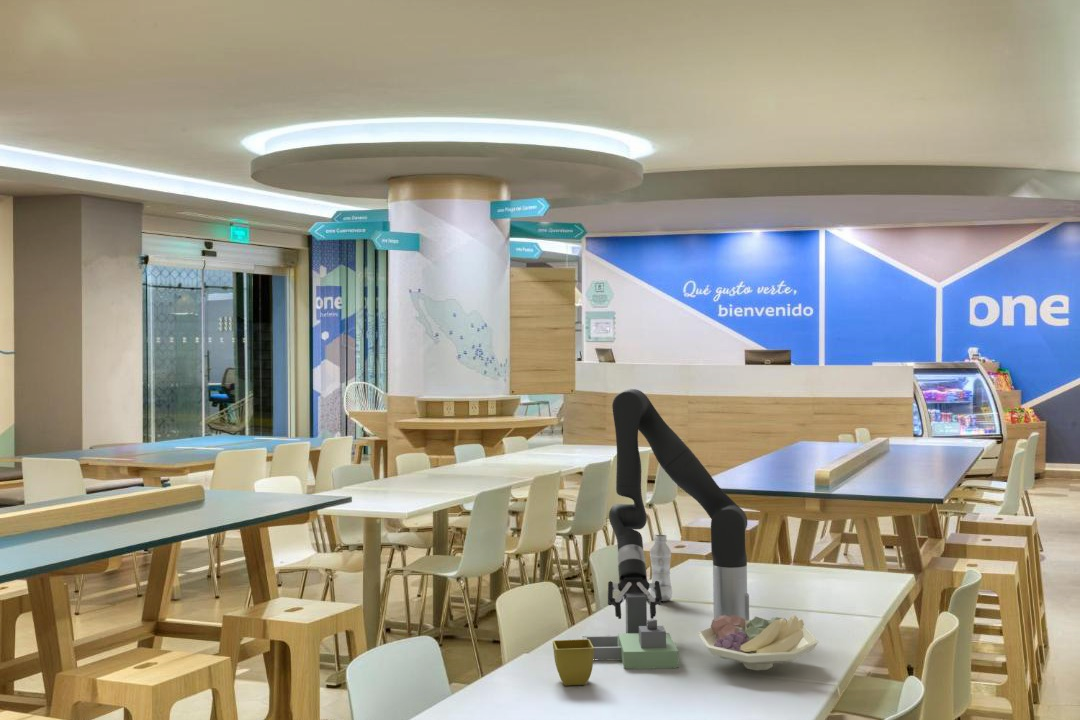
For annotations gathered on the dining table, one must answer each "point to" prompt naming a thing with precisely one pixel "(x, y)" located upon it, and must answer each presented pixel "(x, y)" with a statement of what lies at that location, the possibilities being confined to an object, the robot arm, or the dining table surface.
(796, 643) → the dish with food
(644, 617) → the tall grey cuboid
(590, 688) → the dining table surface
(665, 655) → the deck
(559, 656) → the flower pot
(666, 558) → the plastic bottle
